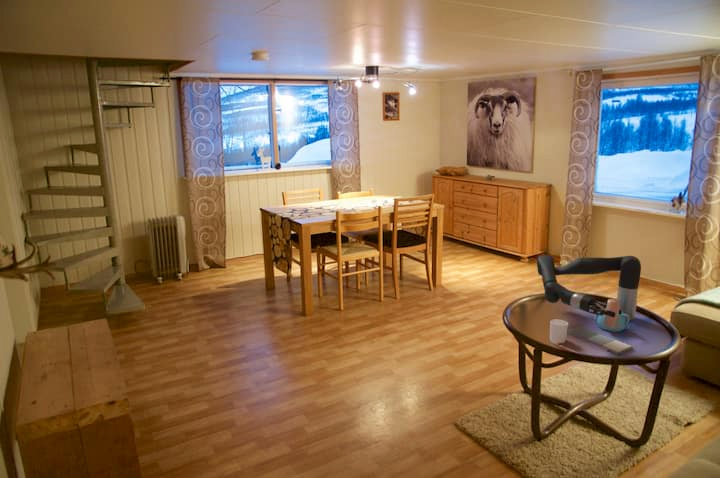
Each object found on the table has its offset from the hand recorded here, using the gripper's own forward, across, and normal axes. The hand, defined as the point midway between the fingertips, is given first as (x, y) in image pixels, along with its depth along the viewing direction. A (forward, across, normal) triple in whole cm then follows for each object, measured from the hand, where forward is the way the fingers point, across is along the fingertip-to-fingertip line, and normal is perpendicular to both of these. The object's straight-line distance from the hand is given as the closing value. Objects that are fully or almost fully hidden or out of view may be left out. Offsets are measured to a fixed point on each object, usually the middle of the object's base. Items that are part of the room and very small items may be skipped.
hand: (617, 313), depth 228 cm
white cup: (-19, +15, -18) cm, 30 cm away
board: (-8, -1, -17) cm, 19 cm away
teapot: (-11, -20, -18) cm, 29 cm away
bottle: (-3, 0, -7) cm, 7 cm away
